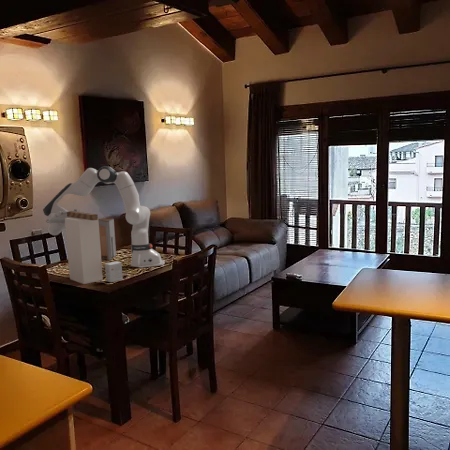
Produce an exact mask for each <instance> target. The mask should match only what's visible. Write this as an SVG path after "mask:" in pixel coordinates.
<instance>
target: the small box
mask: <svg viewBox="0 0 450 450" xmlns="http://www.w3.org/2000/svg"><path fill="white" fill-rule="evenodd" d="M104 267H105V279H106V280H105V281H106V282H109V283H113V282H114V283H115V282H118V281H123V280H124V278H123V269H122V268H123V267H122V262H120V261H117V260H116V261H112V262H111V261H110V262H106V263H104Z"/></svg>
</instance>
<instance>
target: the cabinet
mask: <svg viewBox="0 0 450 450" xmlns="http://www.w3.org/2000/svg"><path fill="white" fill-rule="evenodd" d="M114 220H115V219H114V218H98V222H99V235H100V248H101V259H104V260H107V261H110V262H111V261H113V259H114V258H116V257H117V248H116V233H115V221H114Z"/></svg>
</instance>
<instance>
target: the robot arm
mask: <svg viewBox="0 0 450 450" xmlns="http://www.w3.org/2000/svg"><path fill="white" fill-rule="evenodd" d="M100 182H101V183H104V184H106V185H111V184H114V185H116V188H117V191H118V192H119V195H120V197H121V199H122V202H123V206H124V210H125V220H126V222H127V223H128V224H130V225H132V229H131V232H130V234H131V235H130V237H131V244H130V246H131V247H130V249H131V260H130V261H131V262H130V267H136V268H149V267H151V268H152V267H158V266H163V265H165V260H164V259H162V256H161V254H160V253H159V252H158V251H156V250H155V249H153V244H152V243H149V227H150V225H149V224H150V217H151V209H150V208H149V207H148V206H145V205H141V203H140V194H139V191H138V189H137V187H136V185H135V182H134V180H133V178H132V177H131V176H130V174H129V173H128V172H127V171H118V172H117V171H116V170H115V169H113V167H111V166H106V165H104V166H101V167H100V168H98V170H97V169H96V168H93V167H88V168H86V169H85V171H83V173H82V174H81V175H80V177H79V178H78V179H77V180H76V181H74V182H69V183H68V184H66V185H65V186H64V187H63V188H62V189H61V190H60V191H59V192H58V193H56V194H55V196H54V197H53V198H52V199H50V201H48V202H47V203H46V204H45V205H44V206H43V209H42V210H43V211H42V212H43V214H44V216H46V217H47V219H46V220H45V223H49V224H48V227H47V232H48V233H49V234H50V235H52V236H58V235H60V233H62V232H63V231H64V229H66V228H65V218H70V217H67V212H68V211H69V210H68V209H66V208H65V207H63V206H61V205H59V202H60V201H61V200H63V198H64V197H65V196H66V195H74V196H79V197H84V196H88V195H89V194H90V193H91V192H92V191H93V190H94V188H95V186H96V185H97V184H98V183H100ZM73 211H74V212H81V211H80V210H78V209H77V208H75V209H73Z"/></svg>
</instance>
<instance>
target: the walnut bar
mask: <svg viewBox="0 0 450 450" xmlns="http://www.w3.org/2000/svg"><path fill="white" fill-rule="evenodd" d="M67 217H73V218H80V219H87V220H98V219H99V217H98V214H95V213H88V212H82V211H80V212H74V210H73V211H72V210H70V211H69V210H68V212H67Z"/></svg>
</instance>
